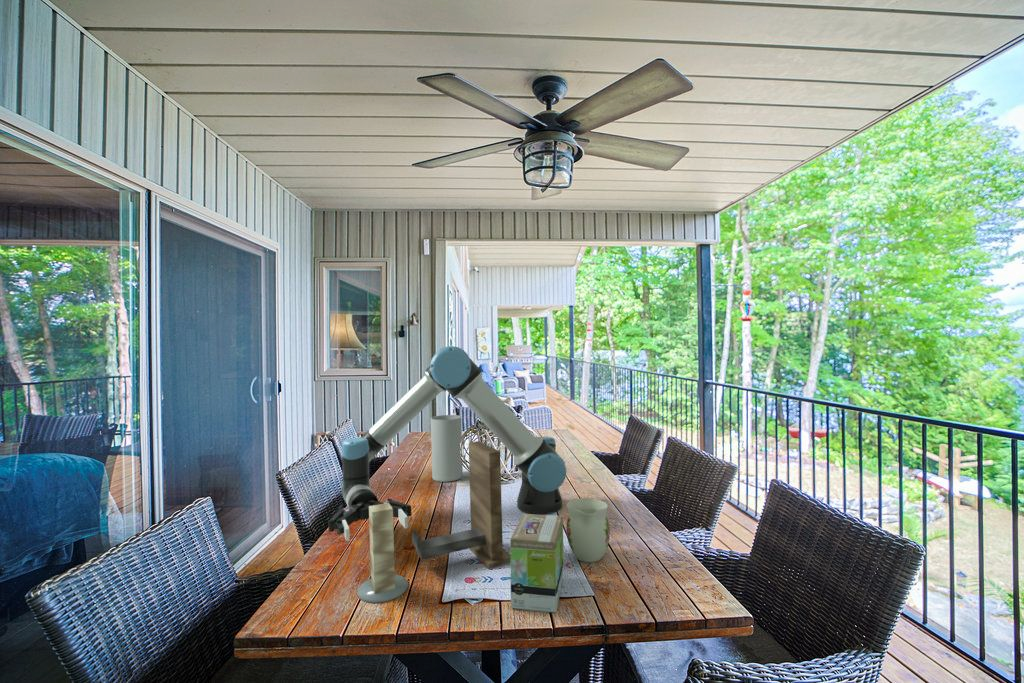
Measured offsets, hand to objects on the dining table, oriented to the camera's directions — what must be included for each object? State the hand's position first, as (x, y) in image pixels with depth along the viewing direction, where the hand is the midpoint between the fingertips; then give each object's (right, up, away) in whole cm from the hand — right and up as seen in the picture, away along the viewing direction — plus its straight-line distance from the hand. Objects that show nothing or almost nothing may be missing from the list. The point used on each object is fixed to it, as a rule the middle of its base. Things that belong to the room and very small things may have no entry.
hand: (378, 528), depth 109 cm
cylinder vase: (+5, -12, +81) cm, 82 cm away
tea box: (+38, -11, -7) cm, 40 cm away
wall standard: (+18, -12, +9) cm, 23 cm away
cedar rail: (+2, -11, -4) cm, 12 cm away
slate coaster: (+2, -12, -4) cm, 13 cm away
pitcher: (+52, -11, +10) cm, 54 cm away
